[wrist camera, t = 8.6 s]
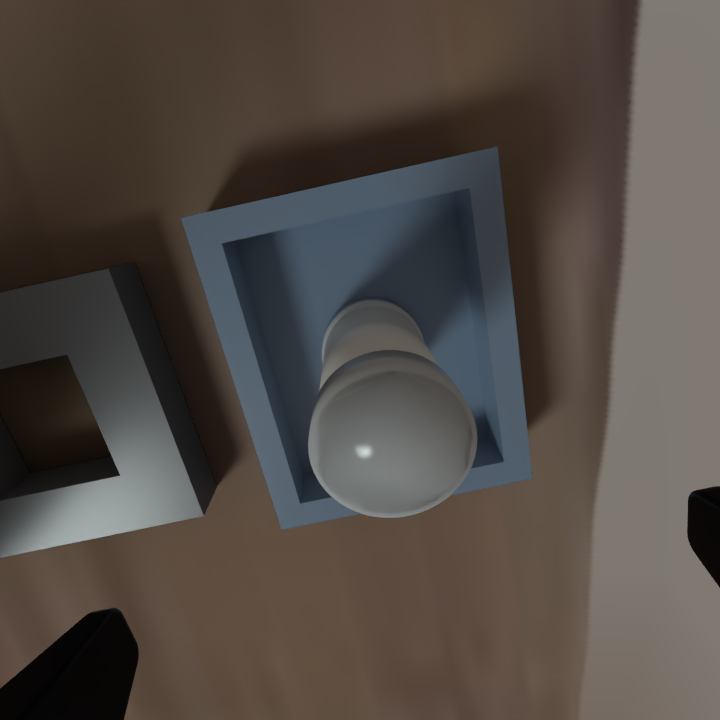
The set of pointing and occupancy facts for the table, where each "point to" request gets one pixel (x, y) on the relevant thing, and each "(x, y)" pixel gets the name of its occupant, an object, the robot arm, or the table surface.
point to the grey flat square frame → (101, 416)
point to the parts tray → (360, 280)
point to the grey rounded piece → (387, 415)
